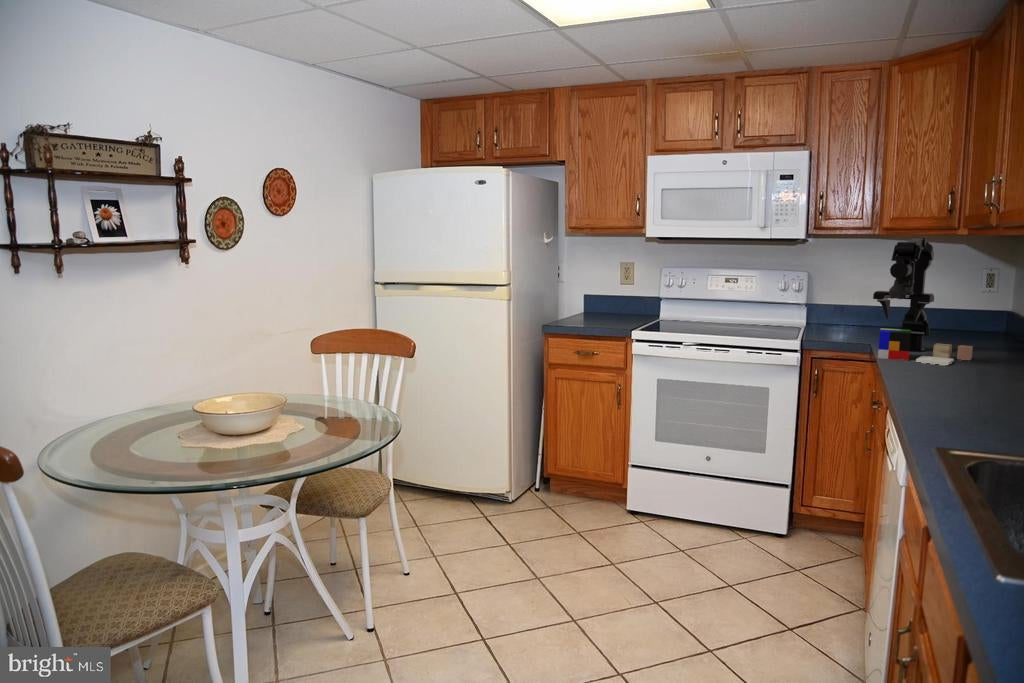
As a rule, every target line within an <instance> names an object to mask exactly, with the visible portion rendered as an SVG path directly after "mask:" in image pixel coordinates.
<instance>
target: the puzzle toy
mask: <svg viewBox="0 0 1024 683" xmlns="http://www.w3.org/2000/svg"><path fill="white" fill-rule="evenodd" d="M911 332H912V331H911V330H902V328H901V329H899V328H881V327H880V329H879V337H878V338H879V339H878V351H877V358H878V359H883V360H886V359H887V360H896V359H904V360H903V361H909V360H910V339H911Z"/></svg>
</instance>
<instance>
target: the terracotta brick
mask: <svg viewBox="0 0 1024 683" xmlns="http://www.w3.org/2000/svg"><path fill="white" fill-rule="evenodd" d="M973 349H974V347H973V345H963V344H962V345H957V353H956V360H957V359H961V360H960V361H962V360H971V359H972V358H973V351H974V350H973ZM972 360H973V359H972ZM972 360H971V361H972Z"/></svg>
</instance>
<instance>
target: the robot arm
mask: <svg viewBox="0 0 1024 683" xmlns="http://www.w3.org/2000/svg"><path fill="white" fill-rule="evenodd" d="M934 258H935V251H934V247H933V245H932V244H931V243H929V242H928V241H927V237H924V236H913V237H911V238H910V239H909V240H907V241H898V242H897V243H896V244H895V245H894V248H893V252H892V255H891V262H894V263H893V264H892V265H891V266H890V269H889V273H890V275H891V276H892V277H893V278H895V279H894V283H893V285H892V286H891V287H890V288H889V290H876V291H874V293H873V296H872V299H873V300H876V302H878V303H880V305H881V307H882V308H883V311H884V315H885V318H886V320H889V319H890V312H891V311H890V310H891V300H892V299H893V300H894V299H897V300H910V303H909V310H908V311H907V312H906V313H905V314H904V317H903V319H902V322H901V329H902V330H911V339H910V350H909V352H910V351H911V352H923V351H924V350H925V349H926V348H924V347H923V346H924V337H929V336H930V332H931V330H930V323H929V320H928V319H927V316H928V315H927V313H926V312H925V310H924V308H925V306H926V305H930V303H932V302H934V301H935V295H934V293H926V292H925V288H926V287H925V286H926V285H925V284H926V276H927V275H926V273H927V270H928V269H930V267H931V265H932V262H933V261H934ZM925 351H926V350H925Z"/></svg>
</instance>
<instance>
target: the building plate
mask: <svg viewBox="0 0 1024 683" xmlns="http://www.w3.org/2000/svg"><path fill="white" fill-rule="evenodd" d="M953 361H954V362H955V358H952V357H951V358H942V357H933V355H932V356H931V355H921V356H919V357H917V358H916V359H915V363H916V362H921V363H920V364H926V363H930V364H929V365H935V364H939V365H938V366H945V365H949V364H950V365H951V364H953V363H954V362H953ZM952 362H953V363H952ZM950 365H949V366H950Z"/></svg>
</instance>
